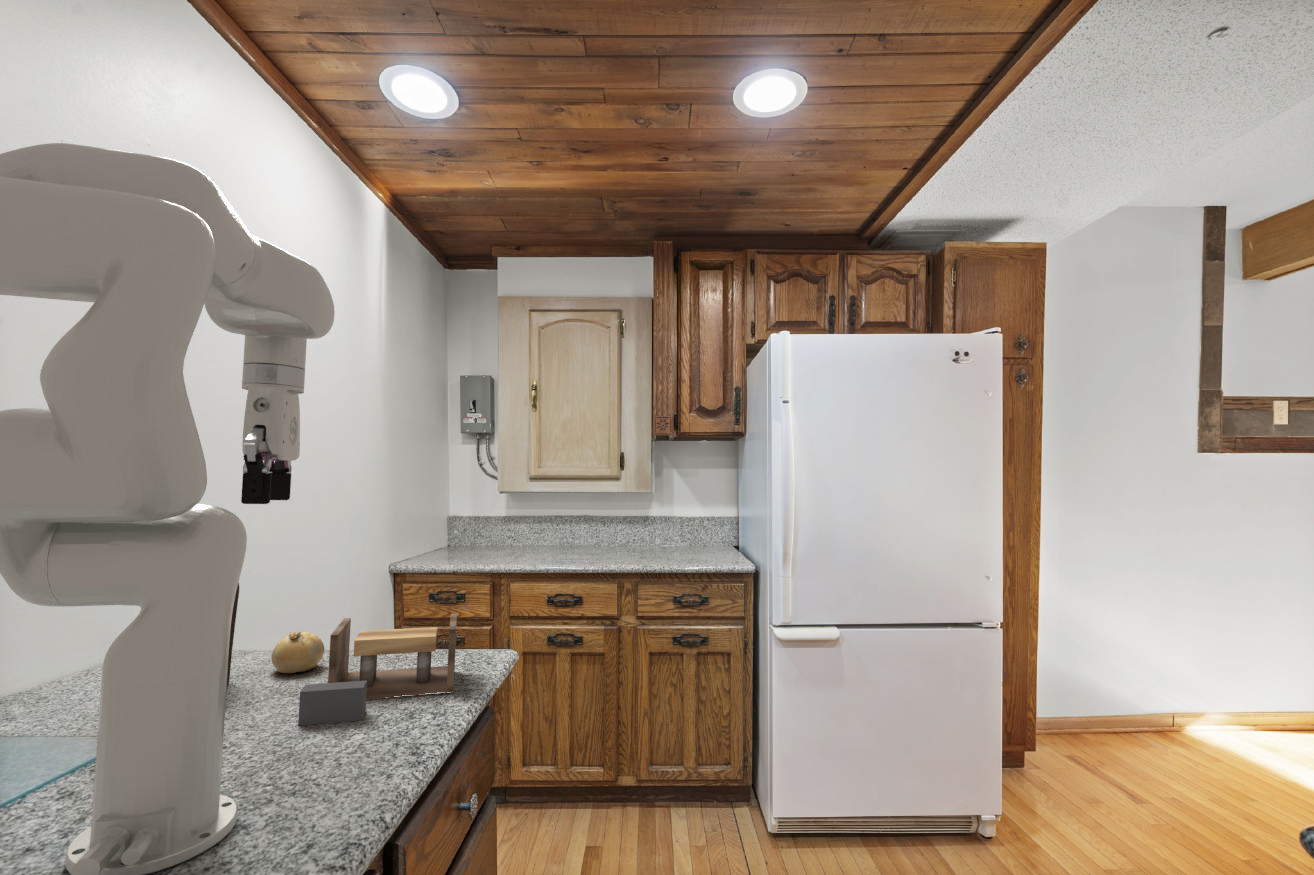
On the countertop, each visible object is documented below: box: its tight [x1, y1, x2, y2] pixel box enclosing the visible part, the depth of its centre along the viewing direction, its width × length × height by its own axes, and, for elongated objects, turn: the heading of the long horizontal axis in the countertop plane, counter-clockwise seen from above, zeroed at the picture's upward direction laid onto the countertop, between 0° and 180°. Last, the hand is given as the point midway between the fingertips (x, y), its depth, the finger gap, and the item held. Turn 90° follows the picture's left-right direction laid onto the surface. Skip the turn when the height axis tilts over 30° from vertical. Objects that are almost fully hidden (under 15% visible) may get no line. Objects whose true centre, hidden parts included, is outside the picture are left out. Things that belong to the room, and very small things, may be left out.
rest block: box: [297, 680, 367, 727], centre depth 87 cm, size 3×8×4 cm, turn 107°
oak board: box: [353, 626, 439, 657], centre depth 101 cm, size 6×12×2 cm, turn 107°
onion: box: [271, 631, 326, 674], centre depth 107 cm, size 8×8×7 cm
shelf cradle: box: [327, 613, 458, 701], centre depth 101 cm, size 11×18×10 cm, turn 107°
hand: (266, 501), depth 87 cm, fingers open, 9 cm apart
